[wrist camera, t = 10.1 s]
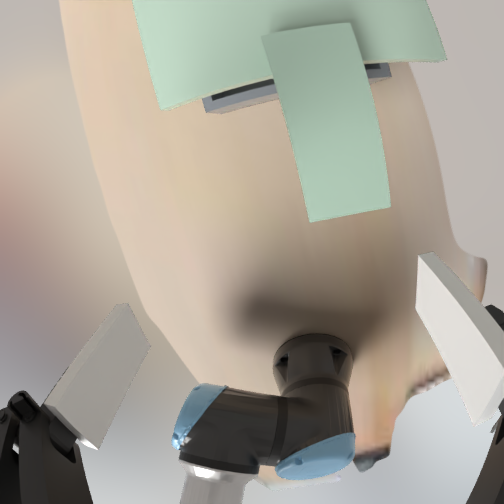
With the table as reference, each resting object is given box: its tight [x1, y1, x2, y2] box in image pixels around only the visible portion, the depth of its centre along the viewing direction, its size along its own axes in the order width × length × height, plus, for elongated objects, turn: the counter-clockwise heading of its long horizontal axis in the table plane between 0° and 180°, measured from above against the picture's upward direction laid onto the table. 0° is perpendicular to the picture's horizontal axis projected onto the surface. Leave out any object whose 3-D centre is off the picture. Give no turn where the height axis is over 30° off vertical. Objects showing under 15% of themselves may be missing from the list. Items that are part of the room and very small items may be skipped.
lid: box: [132, 0, 447, 223], centre depth 13 cm, size 27×20×5 cm
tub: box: [202, 63, 392, 114], centre depth 25 cm, size 18×20×8 cm
